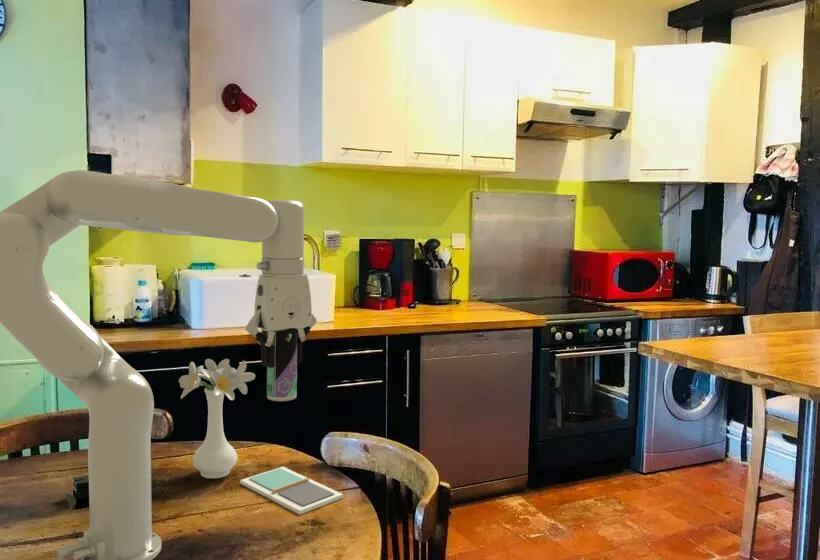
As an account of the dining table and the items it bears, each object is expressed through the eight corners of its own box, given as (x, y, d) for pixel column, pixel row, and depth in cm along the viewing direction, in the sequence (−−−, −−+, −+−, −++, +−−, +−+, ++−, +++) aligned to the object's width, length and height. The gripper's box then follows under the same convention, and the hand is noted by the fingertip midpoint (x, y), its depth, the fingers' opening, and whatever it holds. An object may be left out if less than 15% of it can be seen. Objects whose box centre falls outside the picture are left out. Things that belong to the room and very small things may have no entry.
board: (299, 514, 132) (300, 507, 132) (240, 483, 145) (240, 476, 145) (343, 498, 140) (343, 490, 140) (282, 469, 153) (282, 463, 153)
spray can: (289, 402, 126) (290, 294, 124) (261, 399, 127) (262, 292, 125) (301, 394, 131) (302, 290, 129) (274, 391, 133) (275, 288, 130)
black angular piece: (58, 493, 139) (58, 471, 138) (97, 486, 143) (97, 465, 142) (67, 518, 129) (67, 494, 128) (109, 509, 133) (109, 487, 132)
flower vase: (260, 460, 158) (261, 353, 156) (221, 492, 140) (222, 372, 138) (209, 454, 161) (209, 349, 158) (164, 484, 143) (163, 367, 141)
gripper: (253, 271, 118) (253, 375, 120) (332, 267, 130) (330, 361, 132) (230, 267, 123) (230, 367, 125) (308, 263, 135) (307, 354, 137)
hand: (282, 362), depth 129 cm, fingers closed on spray can, 5 cm apart
